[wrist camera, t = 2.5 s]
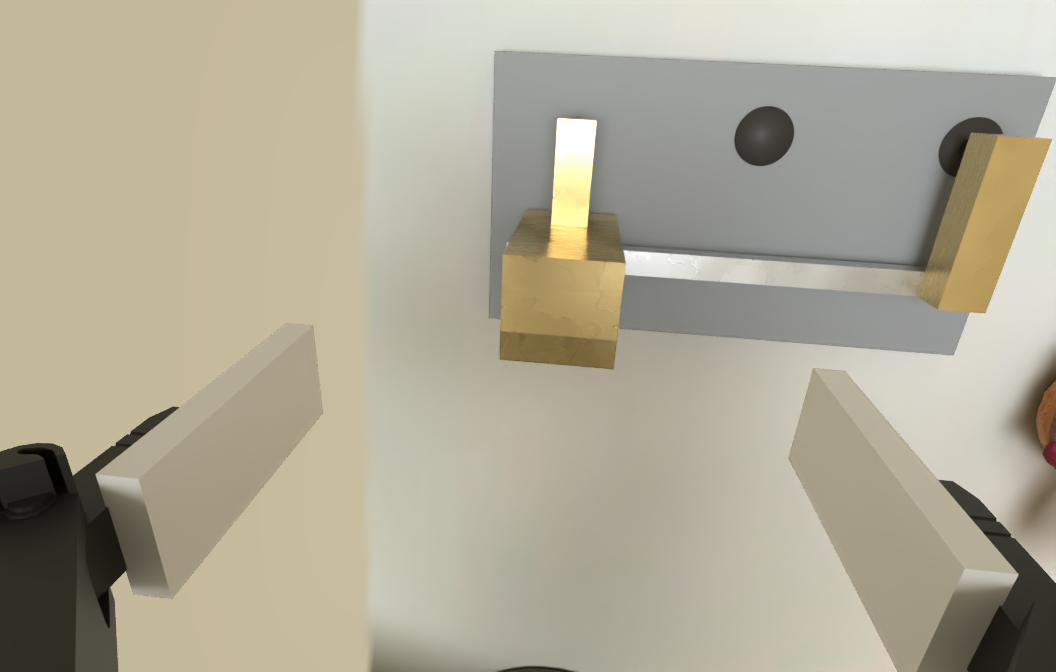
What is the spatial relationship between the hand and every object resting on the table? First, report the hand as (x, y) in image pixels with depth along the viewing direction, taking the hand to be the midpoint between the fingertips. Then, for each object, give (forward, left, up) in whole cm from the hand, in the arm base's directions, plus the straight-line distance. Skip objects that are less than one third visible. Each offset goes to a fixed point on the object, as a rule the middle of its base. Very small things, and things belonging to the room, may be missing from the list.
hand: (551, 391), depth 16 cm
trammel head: (+1, +2, -15) cm, 15 cm away
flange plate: (+8, -2, -17) cm, 18 cm away
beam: (+8, -2, -15) cm, 17 cm away
